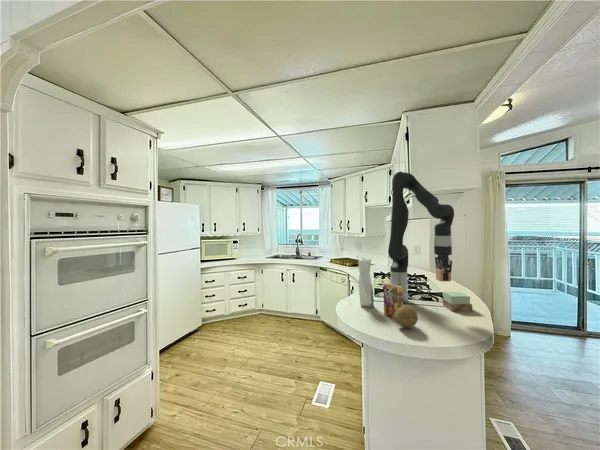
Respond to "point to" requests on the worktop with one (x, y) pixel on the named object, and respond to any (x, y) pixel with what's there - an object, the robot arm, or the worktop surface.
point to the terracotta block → (441, 275)
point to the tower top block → (456, 297)
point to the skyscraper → (365, 283)
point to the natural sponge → (406, 316)
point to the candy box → (392, 299)
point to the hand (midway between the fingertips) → (443, 279)
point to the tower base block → (458, 307)
